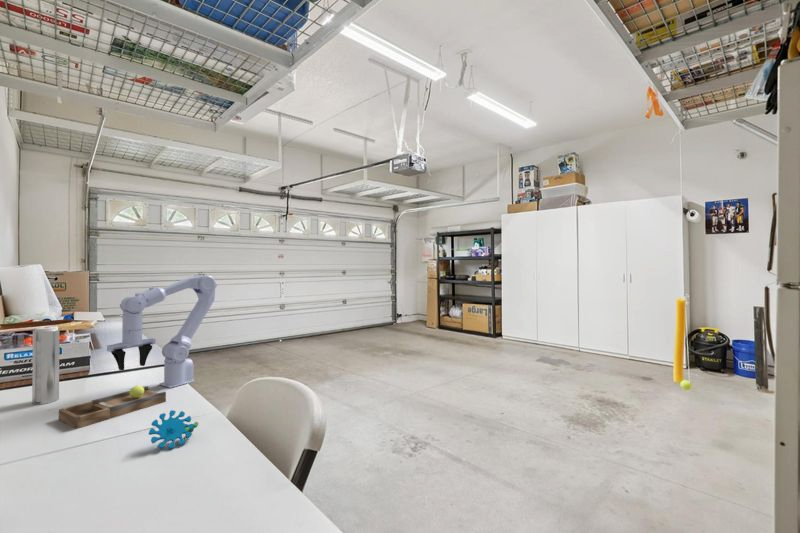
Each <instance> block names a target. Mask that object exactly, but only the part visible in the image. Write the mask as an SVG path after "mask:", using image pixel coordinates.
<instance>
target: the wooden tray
mask: <svg viewBox="0 0 800 533" xmlns="http://www.w3.org/2000/svg"><path fill="white" fill-rule="evenodd" d="M142 387H143V388H144V394H143V395H142V396H141V397H139V398H132V397H131V396H130V394H129V393H130V390H127V391H123V392H119V393H116V394H111V395H108V396H107V395H106V396H104V397H100V398H97V399H93V400H91V401H87V402H83V403H80V404H75V405H72V406H71V405H70V406H68V407H63V408H60V409H58V421H60V422H62V423H64V424H66V425H69V426H70V427H72V428H74V429H77V430H78V429H80V428H83V427H87V426H90V425H93V424H96V423H100V422H104V421H106V420H110V419H113V418H117V417H120V416H122V415H123V416H124V415H126V414H129V413H132V412H136V411H139V410H142V409H145V408H148V407H152V406H156V405H159V404H162V403H165V402H167V401H166V399H167V391H162V392H157V391H156V392H155V391H153V390H150V389H149V386H148V385H147V386H142Z"/></svg>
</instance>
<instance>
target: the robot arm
mask: <svg viewBox="0 0 800 533" xmlns="http://www.w3.org/2000/svg"><path fill="white" fill-rule="evenodd" d="M216 288H217V282H216V280H215V278H214V277H213V276H212V275H209V274H206V275H201V274H195V275H193V276H188V277H186V278H183V279H181V280H178V281H176V282H174V283H172V284H169V285H166V286H164V287H158V286H156V287H154V286H150V287H149V288H148V290H144V291H142V292H136V293H134V296H132V295H129V296H126V297H125V298H123V300H121V302H120V304H119V308H120V309H121V310H122V324H121V326H122V328H121V329H122V332H121V334H122V336H121V337H122V338H121V340H122V342H118V343H114V344H113V343H112V344H108V345H106V351H107V352H108V353H111V354H112V355H113V357H114V359H115V361H116V364H117V368H118V370H119V371H124V370H125V358H126V353H127V352H126V351H125V350H126V349H131V348H137V347H138V352H139V353H138V354H139V366H141V367H144V366H146V363H147V359H148V356H149V354H150V353H151V351H152V349H153V345H156V338H146V339H143V311H144V309H146V308H149V307H151V306H153V305H156V304H159V303H161V302H164V301H165V299H166V297H167V296H170V295H174V294H176V293H178V292H181V291H184V290H187V289H192V290H193V291H194V292H195V294H196V297H197V298H198V300H197V302H196V303H195V305H194V306H193V308H192V310H191V312H190V313H189V314H188V316H187V318H186V319H185V321H184V322H183V324H182V326H181V327H180V329H179V330H178V332H177V334H176V335H175V336H172V338H171V339H170V341H169V342H167V343H166V344H165V345H164V346H163V347H162V350H161V354H162V357H164V361H163V362H164V364H163V366H164V367H163V370H164V371H163V374H164V375H163V376H164V377H163V382H160V383H158V385H159V386H163V387H166V388H169V389H171V388H172V389H173V388H176V387H179V386H182V385H183V386H184V385H187V384H189V383H190V384H191V383H193V382H195V379H194V362H193V360H192V359H191V358H188V356H189V355H190V349H191V347H192V339H193V337H194V335H195V334H196V332H197V331H198V328H199V327H200V326H201V323H202V322H203V320H204V318H205V317H206V315H207V313H208V312H209V311H210V309H211V307H212V305H213V304H214V302H215V297H216V296H215V295H216ZM124 349H125V350H124ZM185 382H186V383H185Z"/></svg>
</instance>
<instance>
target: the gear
mask: <svg viewBox="0 0 800 533" xmlns="http://www.w3.org/2000/svg"><path fill="white" fill-rule="evenodd" d="M176 412H177V411H176V410H172V409H171V410H170V411H169V413H168V414H169V417H168V419H165V417H166V413H165V412H163V413H160V414H159V416H158V417H159V419H160V421H161V424H159V421H158V419H154V420H153V421H152V422H151V426H152V428H150V429H149V431H148V435H150V436H151V435H158V436H152V437H151V439H150V442H151V444H155V443H157V442H158V441H160V440H162V442H161V441H160V442H159V443H158V445H157V447H158V448H159V449H161V450H162V449H163V448H164V447H165V445H166V444H167V443H168V442H170V441H171V443H169V445H168V446H167V448H168V450H169V449H170V450H173V449H174V448H175V444H176V443H175V442H176V441H177V439H179V441H178V444H177V445H178V446H183V445H184V444H185V442H186V440H185V439H184V438H183V435H184V434H185V438H186V439H187V440H188V439H190V438H191V436H192V435H193V432H194V429H196V428H197V427H198V426H199V422H197V421H195V422H194V423H190V422H191V421H192V416H191V415H189V416H186V417H185V418H183V417H184V416H185V414H186V413H185V412H184V411H183V410H182V411H180V412H179V413H178V415H177V416H175V414H176ZM173 416H175V417H173ZM180 418H181V419H180ZM185 422H186V423H185ZM187 423H188V424H187ZM153 427H156V428H157V429H158V430H155V428H153ZM163 440H164V441H163Z"/></svg>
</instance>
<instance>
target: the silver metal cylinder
mask: <svg viewBox="0 0 800 533" xmlns="http://www.w3.org/2000/svg"><path fill="white" fill-rule="evenodd" d="M60 334H61V333H60V329H59V327H58V326H56V325H51V326H50V325H49V326H41V327H36V328H34V330H33V331H32V375H31V376H32V377H31V380H32V382H31V383H32V386H31V387H32V391H31V392H32V395H31V397H32V398H31V403H32V405H37V406H38V405H46V404H51V403H54V402H57V401H58V400H59V398H60Z"/></svg>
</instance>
